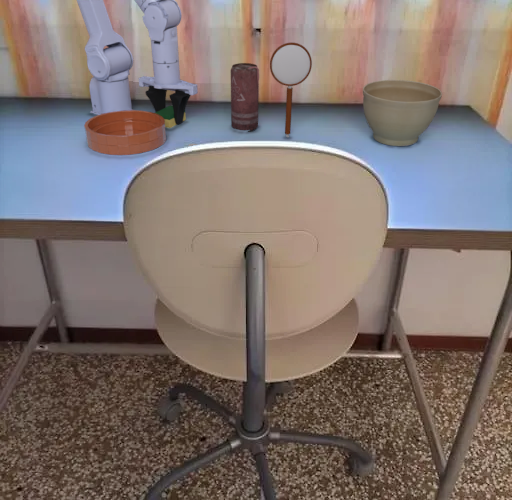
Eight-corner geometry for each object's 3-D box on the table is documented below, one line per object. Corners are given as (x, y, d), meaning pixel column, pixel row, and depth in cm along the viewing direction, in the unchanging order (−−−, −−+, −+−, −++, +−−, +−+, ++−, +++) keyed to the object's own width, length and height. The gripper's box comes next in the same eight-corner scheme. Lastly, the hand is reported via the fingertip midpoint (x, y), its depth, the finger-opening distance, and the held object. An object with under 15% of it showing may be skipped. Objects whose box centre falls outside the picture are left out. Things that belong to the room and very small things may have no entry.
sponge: (170, 130, 122) (169, 115, 121) (155, 127, 124) (153, 112, 122) (186, 122, 127) (185, 107, 125) (171, 119, 129) (170, 105, 127)
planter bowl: (369, 122, 128) (374, 76, 122) (438, 133, 122) (448, 85, 117) (348, 144, 116) (353, 94, 110) (424, 158, 110) (434, 105, 104)
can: (256, 133, 121) (256, 69, 114) (228, 131, 122) (227, 68, 115) (261, 124, 126) (262, 63, 119) (234, 122, 127) (234, 61, 120)
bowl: (71, 145, 114) (67, 124, 112) (130, 124, 125) (128, 105, 123) (124, 164, 106) (121, 142, 103) (182, 140, 117) (180, 120, 115)
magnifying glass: (306, 136, 120) (312, 41, 109) (307, 139, 119) (313, 43, 108) (267, 136, 120) (270, 41, 109) (268, 139, 118) (270, 43, 108)
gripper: (127, 60, 118) (134, 121, 125) (183, 68, 112) (187, 131, 119) (147, 54, 123) (152, 112, 130) (201, 61, 117) (204, 122, 125)
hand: (170, 121), depth 125 cm, fingers closed on sponge, 4 cm apart
